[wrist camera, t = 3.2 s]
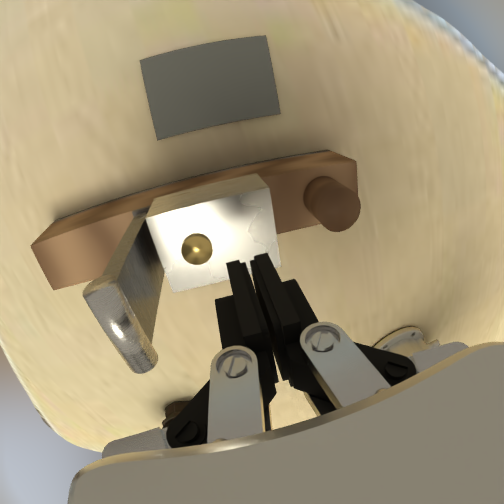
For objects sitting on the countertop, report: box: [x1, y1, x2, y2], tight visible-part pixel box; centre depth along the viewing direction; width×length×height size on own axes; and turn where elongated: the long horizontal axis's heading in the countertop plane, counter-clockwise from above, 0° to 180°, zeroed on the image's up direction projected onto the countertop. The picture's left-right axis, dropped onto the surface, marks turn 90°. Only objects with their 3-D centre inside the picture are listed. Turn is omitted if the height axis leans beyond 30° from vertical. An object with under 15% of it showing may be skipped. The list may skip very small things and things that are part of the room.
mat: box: [140, 35, 280, 141], centre depth 19 cm, size 10×7×1 cm
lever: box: [83, 212, 165, 374], centre depth 15 cm, size 2×5×10 cm, turn 10°
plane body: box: [31, 150, 361, 290], centre depth 20 cm, size 26×4×8 cm, turn 100°
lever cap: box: [145, 173, 281, 293], centre depth 18 cm, size 7×5×4 cm
